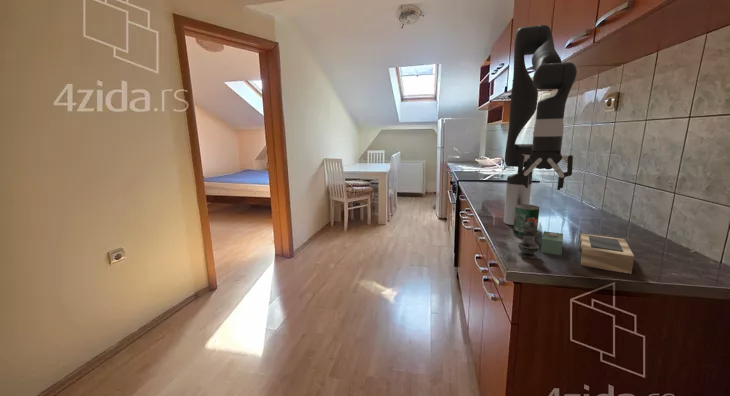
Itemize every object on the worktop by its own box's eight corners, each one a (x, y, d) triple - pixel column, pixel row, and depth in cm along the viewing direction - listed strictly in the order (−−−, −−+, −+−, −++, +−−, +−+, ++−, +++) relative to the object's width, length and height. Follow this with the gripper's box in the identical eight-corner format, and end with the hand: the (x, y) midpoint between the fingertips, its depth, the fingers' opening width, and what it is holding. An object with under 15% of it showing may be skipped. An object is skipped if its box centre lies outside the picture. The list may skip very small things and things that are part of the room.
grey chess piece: (535, 253, 95) (539, 216, 92) (540, 260, 89) (544, 221, 87) (515, 251, 96) (518, 215, 94) (518, 258, 91) (522, 220, 89)
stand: (578, 247, 99) (580, 232, 98) (622, 254, 93) (624, 238, 92) (580, 265, 85) (583, 247, 84) (631, 274, 80) (634, 255, 78)
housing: (542, 243, 103) (544, 228, 102) (561, 246, 100) (563, 231, 99) (540, 252, 96) (542, 236, 94) (561, 255, 93) (563, 239, 92)
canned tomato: (514, 230, 118) (517, 203, 116) (537, 233, 113) (540, 205, 111) (511, 236, 111) (513, 207, 109) (535, 239, 107) (538, 209, 105)
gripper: (576, 134, 88) (570, 188, 91) (522, 135, 96) (518, 185, 99) (576, 134, 82) (569, 192, 85) (519, 135, 90) (514, 188, 93)
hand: (542, 188), depth 92 cm, fingers open, 8 cm apart
